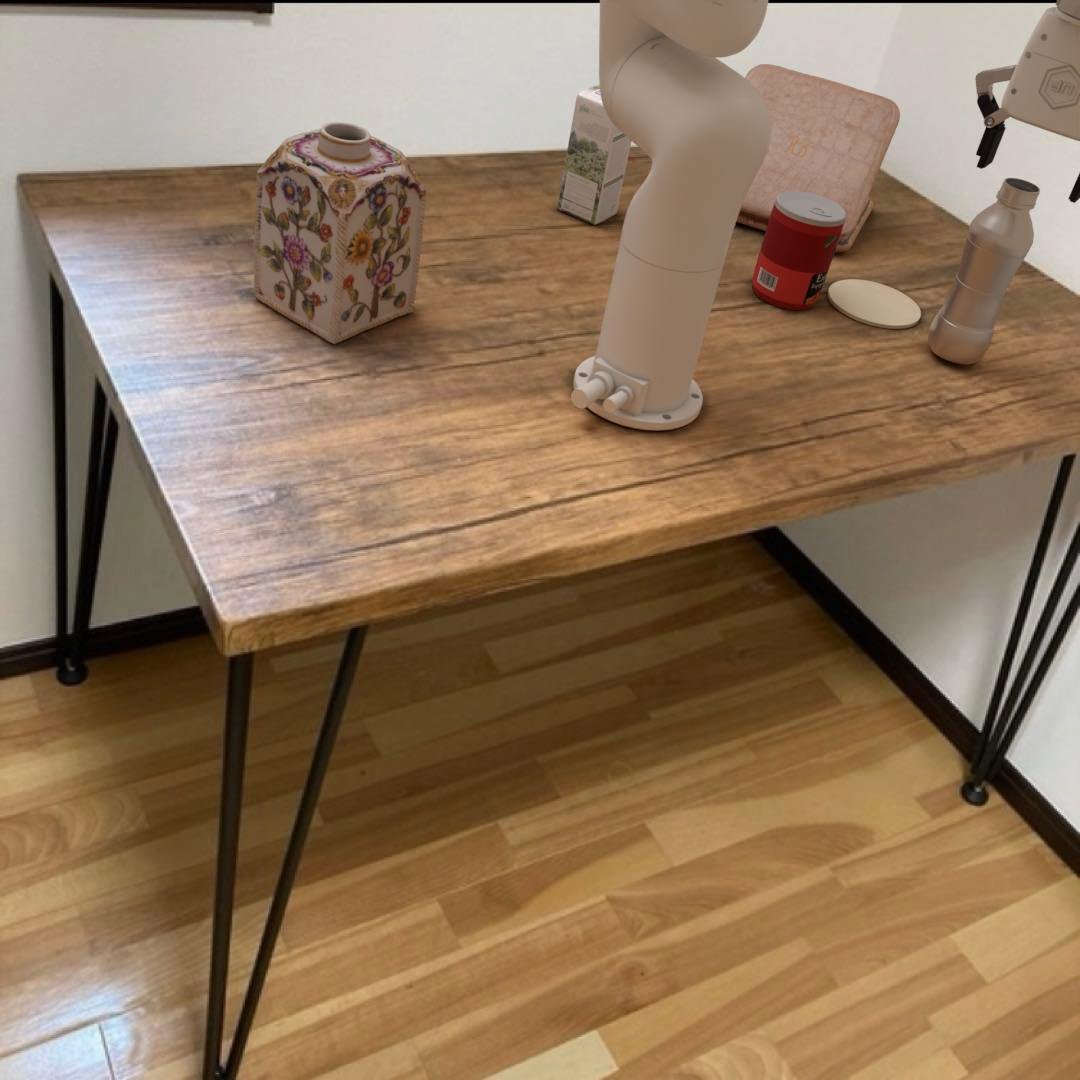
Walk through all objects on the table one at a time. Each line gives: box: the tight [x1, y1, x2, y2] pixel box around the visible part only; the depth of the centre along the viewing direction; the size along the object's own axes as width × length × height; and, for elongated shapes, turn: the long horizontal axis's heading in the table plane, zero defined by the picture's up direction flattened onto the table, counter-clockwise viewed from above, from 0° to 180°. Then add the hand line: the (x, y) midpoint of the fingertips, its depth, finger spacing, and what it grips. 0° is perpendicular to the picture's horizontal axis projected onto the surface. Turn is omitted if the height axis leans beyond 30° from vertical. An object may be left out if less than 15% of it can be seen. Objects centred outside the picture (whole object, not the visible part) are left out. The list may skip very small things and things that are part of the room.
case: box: [736, 63, 901, 253], centre depth 159 cm, size 20×21×16 cm
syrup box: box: [556, 84, 633, 225], centre depth 149 cm, size 6×6×14 cm
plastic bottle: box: [927, 177, 1041, 365], centre depth 132 cm, size 6×7×20 cm
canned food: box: [751, 191, 846, 311], centre depth 140 cm, size 8×8×11 cm
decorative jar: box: [253, 121, 427, 345], centre depth 119 cm, size 12×12×18 cm
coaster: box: [826, 278, 922, 330], centre depth 145 cm, size 11×11×1 cm
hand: (1028, 181), depth 126 cm, fingers open, 9 cm apart
